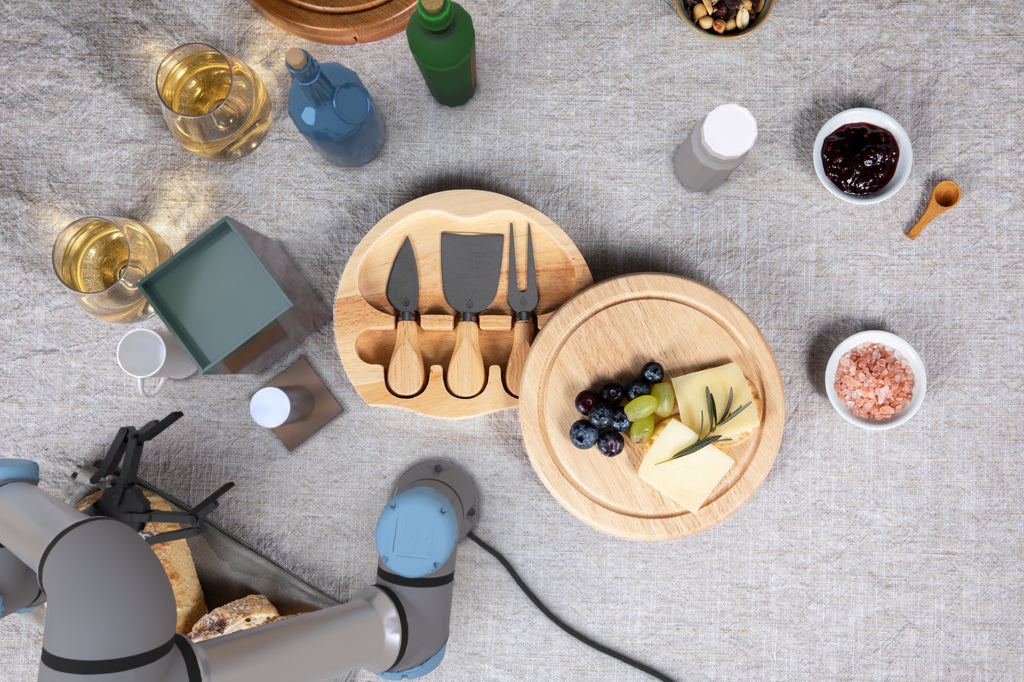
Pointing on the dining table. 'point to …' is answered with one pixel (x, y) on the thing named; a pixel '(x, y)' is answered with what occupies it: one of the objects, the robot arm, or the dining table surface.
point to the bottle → (444, 50)
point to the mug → (153, 357)
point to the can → (281, 405)
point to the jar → (716, 147)
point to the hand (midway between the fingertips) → (204, 448)
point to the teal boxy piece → (233, 300)
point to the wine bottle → (333, 110)
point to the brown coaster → (323, 403)
